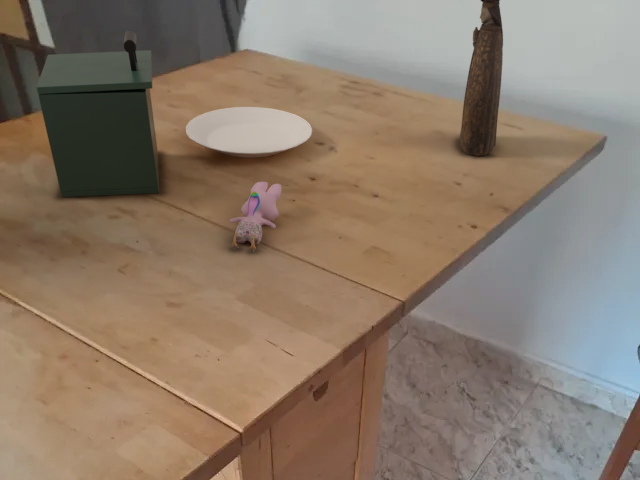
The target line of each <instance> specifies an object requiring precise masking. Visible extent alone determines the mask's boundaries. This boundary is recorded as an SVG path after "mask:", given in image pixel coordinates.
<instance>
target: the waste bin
mask: <svg viewBox="0 0 640 480" xmlns="http://www.w3.org/2000/svg"><path fill="white" fill-rule="evenodd" d="M37 94H38V93H37ZM38 100H39V105H40V110H41V113H42V118H43V123H44V126H45V130H46V136H47V139H48V144H49V149H50V153H51V156H52V162H53V166H54V169H55V175H56V179H57V183H58V187H59V191H60V196H61V198H74V197H75V198H76V197H97V196H98V197H99V196H100V197H101V196H119V195H120V196H121V195H124V196H125V195H143V194H145V195H146V194H147V195H148V194H159V193H160V185H159V183H160V181H159V179H160V178H159V152H158V144H157V135H156V126H155V120H154V112H153V103H152V95H151V89H131V90H111V91H94V92H70V93H50V94H38Z"/></svg>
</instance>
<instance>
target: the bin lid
mask: <svg viewBox="0 0 640 480" xmlns="http://www.w3.org/2000/svg"><path fill="white" fill-rule="evenodd" d="M137 40H138V39H137V33H136V32H135V31H133V30H131V29H128V30H126V31H125V32H124V38H123V49H124V51H102V52H99V51H97V52H80V53H79V52H77V53H75V52H74V53H55V54H53V53H52V54H47V57H46V60H45V62H44V65H43V67H42V71H41V73H40V76H39V79H38V82H37V84H36V91H37V94H50V93H70V92H91V91H111V90H131V89H150V90H152V89H153V54H152V50H151V49H150V50H149V49H148V50H147V49H146V50H137V43H138V41H137Z"/></svg>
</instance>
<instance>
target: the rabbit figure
mask: <svg viewBox="0 0 640 480" xmlns="http://www.w3.org/2000/svg"><path fill="white" fill-rule="evenodd" d="M268 186H269V182H267V181H258V182H255V184H254V185H252V187H251V189H250V195H249V197H248V199H247V200H246V202H245V203H243V205H242V206H241V208H240V209H241V213H242V215H243V216H238V217H233V218H231V219H229V223H230V224H235V223H238V224H237V225H236V228H235V231H234V236H233V238H232V239H233V240H232V243H231V247H234V248H233V250H236V247H237V248H239V246H238V244H237V242H238V243H239V244H244V243H246V242H249V243H250V244H251V245H250V246H249V248H248V249H249V250H250V249H252V252H253V253H255V250H257V245H259V244H260V243H261V241H262V240H263V226H264V225H266V226H269V227H271V229H276V228H277V226H276V224H275V223H274V222H272V221H274V220H275V219H277V217H278V216H279V211H278V210H279V209H278V207H277V202H278V200H279V199H280V197H281V195H282V187H283V186H282V185H281V184H280V183H274V184H272V185H271V186H270V187H269V189H268Z"/></svg>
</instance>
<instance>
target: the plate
mask: <svg viewBox="0 0 640 480" xmlns="http://www.w3.org/2000/svg"><path fill="white" fill-rule="evenodd" d="M185 133H186V135H187V137H188V138H189V139H190V140H191V141H192V142H194V143H195V144H197V145H199V146H202V147H204V148H207V149H210V150H212V151H214V152H215V151H216V152H218V153H221V154H222V155H227V156H230V157H236V158H237V157H238V158H251V159H253V158H265V157H270V156H274V155H279V154H281V153H283V152H286V151H287V150H290V149H294V148H297V147H299V146H301V145H302V144H304V143H306V142H307V141H308V140H309V139H311V137H312V134H313V128H312V126H311V124H310V123H309V122H308V121H307V120H306V119H304V118H303V117H301V116H299V115H298V114H295V113H291V112H289V111H286V110H280V109H276V108H269V107H261V106H235V107H225V108H218V109H215V110H211V111H210V110H209V111H207V112H204V113H202V114H199V115H197V116H195V117H194V118H192V119H191V120H189V121H188V123H187V124H186V126H185Z"/></svg>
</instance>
